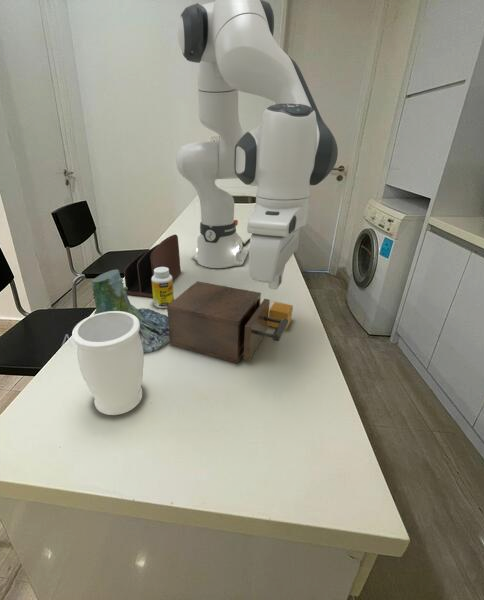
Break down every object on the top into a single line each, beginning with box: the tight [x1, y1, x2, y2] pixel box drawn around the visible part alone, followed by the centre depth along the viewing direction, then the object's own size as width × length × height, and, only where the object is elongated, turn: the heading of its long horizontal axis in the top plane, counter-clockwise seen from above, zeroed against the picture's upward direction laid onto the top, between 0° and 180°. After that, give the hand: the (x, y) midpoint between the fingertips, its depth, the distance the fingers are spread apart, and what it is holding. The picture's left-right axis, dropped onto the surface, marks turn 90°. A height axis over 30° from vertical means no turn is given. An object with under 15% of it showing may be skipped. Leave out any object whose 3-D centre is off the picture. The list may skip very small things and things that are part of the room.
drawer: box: [239, 298, 288, 362], centre depth 71 cm, size 20×13×8 cm, turn 62°
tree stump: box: [91, 269, 170, 354], centre depth 75 cm, size 18×20×18 cm
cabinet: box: [166, 280, 262, 364], centre depth 73 cm, size 16×14×10 cm
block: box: [268, 301, 294, 331], centre depth 78 cm, size 4×4×4 cm
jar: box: [71, 311, 145, 416], centre depth 55 cm, size 11×10×15 cm
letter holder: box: [123, 234, 182, 298], centre depth 100 cm, size 10×20×14 cm, turn 162°
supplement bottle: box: [151, 267, 175, 309], centre depth 88 cm, size 6×6×10 cm
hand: (274, 286), depth 63 cm, fingers closed
